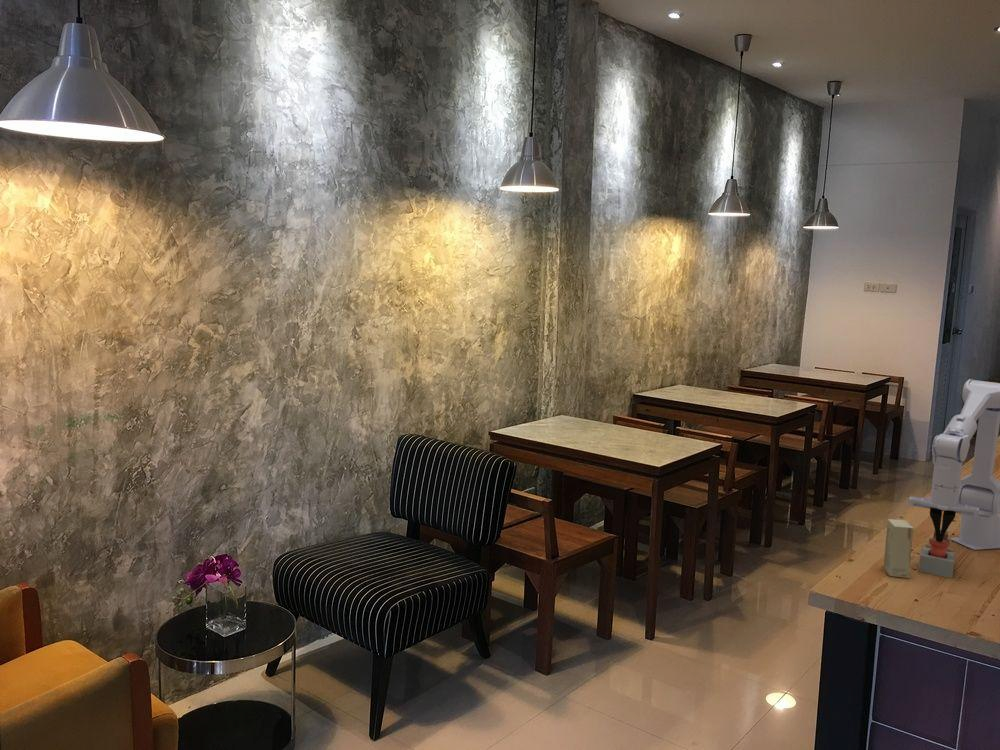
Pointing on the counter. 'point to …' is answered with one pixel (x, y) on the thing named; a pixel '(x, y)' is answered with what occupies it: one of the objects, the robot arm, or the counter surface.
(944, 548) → the plunger
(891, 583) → the counter surface
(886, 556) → the skincare box
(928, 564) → the grey rectangular block
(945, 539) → the carriage
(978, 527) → the robot arm
